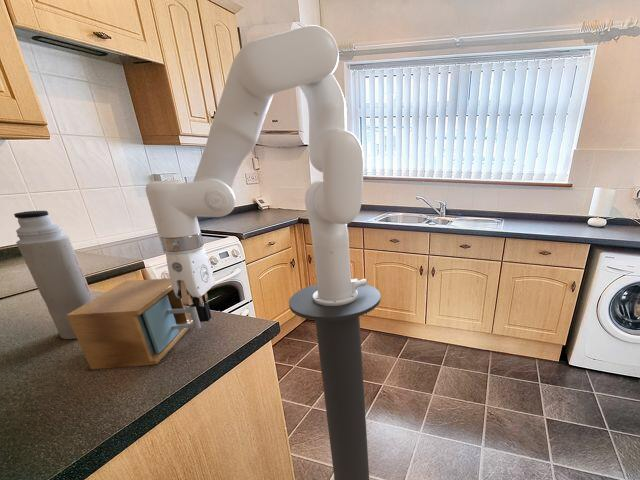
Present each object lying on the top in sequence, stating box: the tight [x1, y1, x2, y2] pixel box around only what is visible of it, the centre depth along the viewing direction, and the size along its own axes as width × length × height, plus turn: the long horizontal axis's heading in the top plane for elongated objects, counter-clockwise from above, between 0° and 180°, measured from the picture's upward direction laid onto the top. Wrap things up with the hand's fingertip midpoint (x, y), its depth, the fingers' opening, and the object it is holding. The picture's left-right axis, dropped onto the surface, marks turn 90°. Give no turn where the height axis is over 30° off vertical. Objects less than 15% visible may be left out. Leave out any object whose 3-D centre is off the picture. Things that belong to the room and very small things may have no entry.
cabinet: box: [67, 278, 193, 370], centre depth 72 cm, size 12×18×12 cm, turn 8°
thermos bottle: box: [13, 210, 95, 340], centre depth 75 cm, size 8×8×28 cm
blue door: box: [142, 295, 202, 354], centre depth 71 cm, size 6×9×9 cm
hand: (203, 320), depth 78 cm, fingers closed
